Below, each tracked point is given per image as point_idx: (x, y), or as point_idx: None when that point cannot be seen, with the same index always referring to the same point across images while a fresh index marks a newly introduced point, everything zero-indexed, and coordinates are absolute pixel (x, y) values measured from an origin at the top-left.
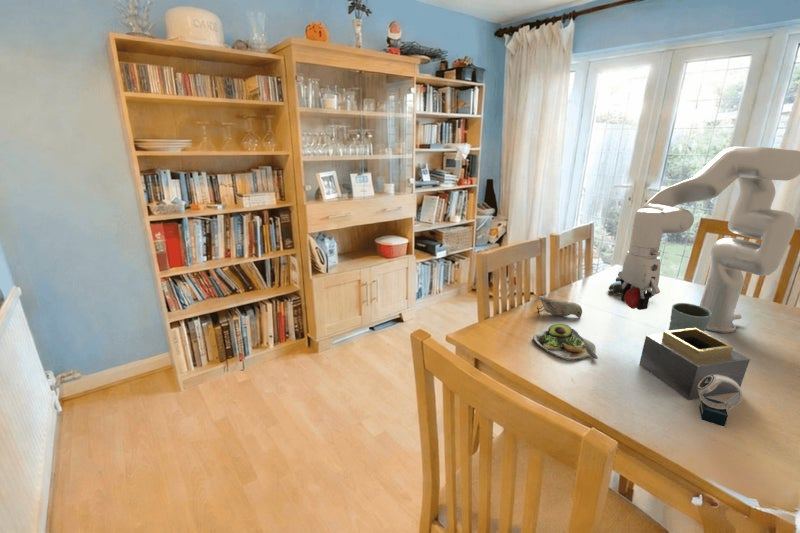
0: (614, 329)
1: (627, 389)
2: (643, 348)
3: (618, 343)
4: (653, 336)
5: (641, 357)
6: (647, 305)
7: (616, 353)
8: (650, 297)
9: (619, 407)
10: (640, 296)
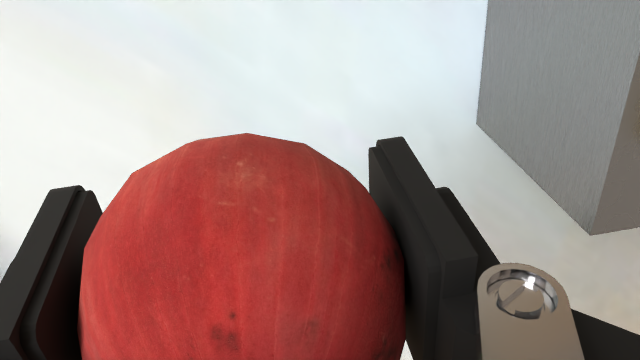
0: (27, 4)
1: (585, 260)
2: (534, 177)
3: (250, 100)
4: (625, 197)
5: (502, 145)
6: (455, 199)
7: (354, 171)
8: (543, 289)
9: (634, 318)
10: (399, 356)
